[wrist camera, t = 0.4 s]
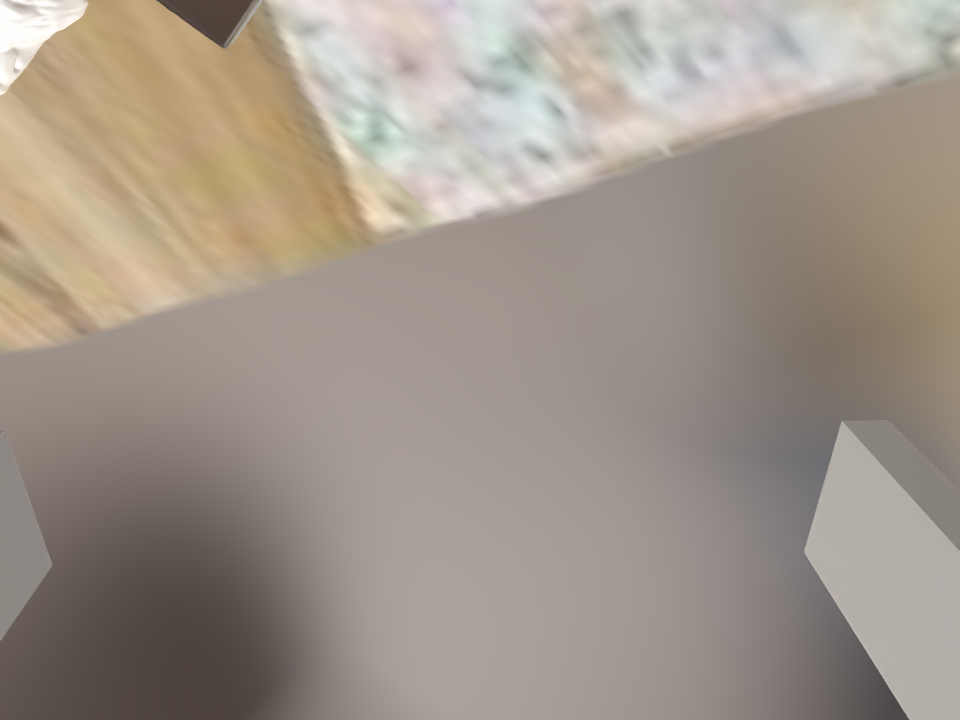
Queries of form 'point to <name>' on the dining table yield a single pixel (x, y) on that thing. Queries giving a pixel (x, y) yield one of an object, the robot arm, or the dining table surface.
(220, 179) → the dining table surface
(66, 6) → the white lumpy piece
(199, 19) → the coffee box
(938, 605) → the robot arm
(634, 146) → the dining table surface
